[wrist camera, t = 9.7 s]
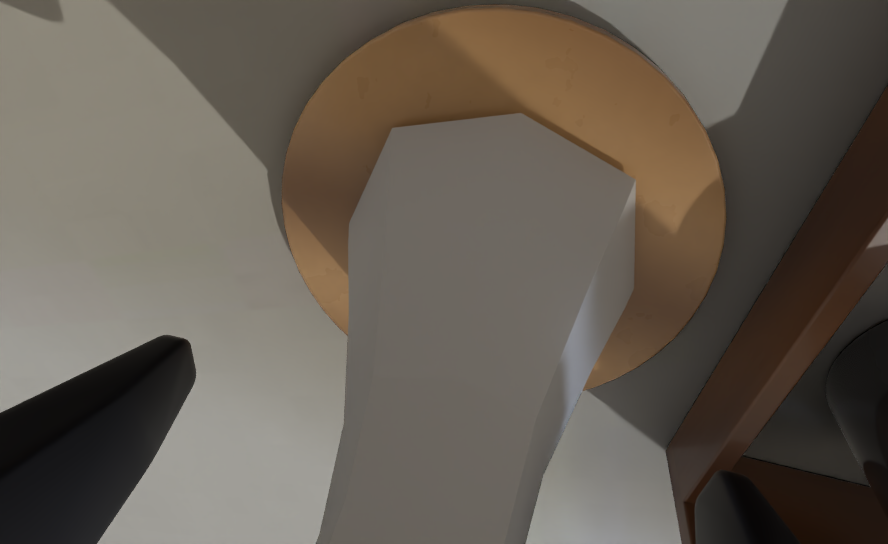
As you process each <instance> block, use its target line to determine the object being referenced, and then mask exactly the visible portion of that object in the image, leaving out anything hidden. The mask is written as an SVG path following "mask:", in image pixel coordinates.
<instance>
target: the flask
mask: <svg viewBox="0 0 888 544" xmlns="http://www.w3.org/2000/svg"><path fill="white" fill-rule="evenodd" d="M635 200H636V179H634V178H632V177H631V176H629V175H627V174H625V173H624V172H622V171H620V170H619V169H617V168H615V167H613V166H612V165H610V164H608V163H607V162H605V161H603V160H601V159H600V158H598V157H596V156H594V155H593V154H591V153H589V152H588V151H586V150H584V149H582V148H581V147H579V146H577V145H576V144H574V143H572V142H570V141H569V140H567V139H565V138H563V137H562V136H560V135H558V134H557V133H555V132H553V131H551V130H550V129H548V128H546V127H545V126H543V125H541V124H539V123H538V122H536V121H534V120H532V119H531V118H529V117H527V116H526V115H524V114H522V113H516V114H507V115H498V116H490V117H481V118H473V119H464V120H456V121H447V122H438V123H430V124H421V125H413V126H404V127H395V128H392V130H391V132H390V134H389V136H388V138H387V141H386V143H385V145H384V147H383V149H382V152H381V154H380V156H379V158H378V160H377V163H376V165H375V167H374V169H373V172H372V174H371V176H370V178H369V180H368V183H367V185H366V187H365V189H364V191H363V194H362V196H361V198H360V200H359V202H358V205H357V207H356V209H355V211H354V213H353V216H352V218H351V220H350V222H349V237H348V282H349V320H348V342H347V365H346V387H345V410H344V425H343V430H342V434H341V439H340V443H339V448H338V452H337V457H336V462H335V466H334V471H333V475H332V480H331V484H330V489H329V493H328V498H327V503H326V507H325V512H324V516H323V521H322V525H321V530H320V534H319V537H318V539H317V542H316V544H525V543H526V539H527V535H528V531H529V528H530V524H531V520H532V516H533V512H534V508H535V505H536V501H537V497H538V493H539V489H540V485H541V481H542V478H543V474H544V472H545V470H546V468H547V466H548V464H549V461H550V459H551V457H552V455H553V453H554V451H555V448H556V446H557V444H558V442H559V440H560V438H561V435H562V433H563V431H564V429H565V427H566V425H567V423H568V420H569V418H570V416H571V414H572V412H573V410H574V407H575V405H576V403H577V401H578V399H579V397H580V394H581V392H582V390H583V388H584V386H585V384H586V381H587V379H588V377H589V375H590V373H591V371H592V369H593V367H594V365H595V363H596V361H597V360H598V358H599V356H600V354H601V352H602V350H603V348H604V346H605V345H606V343H607V341H608V339H609V337H610V335H611V333H612V331H613V330H614V328H615V326H616V324H617V322H618V320H619V318H620V316H621V315H622V313H623V311H624V309H625V307H626V305H627V302H628V300H629V298H630V296H631V294H632V292H633V290H634V262H635Z"/></svg>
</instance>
